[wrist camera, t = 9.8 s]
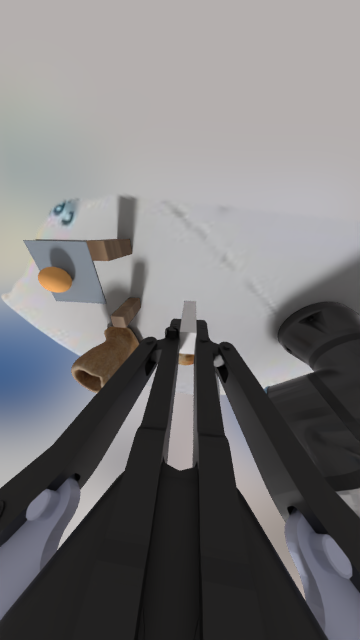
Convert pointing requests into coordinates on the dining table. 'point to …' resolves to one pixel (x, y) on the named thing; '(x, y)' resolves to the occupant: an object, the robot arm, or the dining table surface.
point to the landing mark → (69, 268)
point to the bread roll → (186, 359)
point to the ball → (55, 279)
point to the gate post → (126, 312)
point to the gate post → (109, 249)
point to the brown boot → (104, 358)
